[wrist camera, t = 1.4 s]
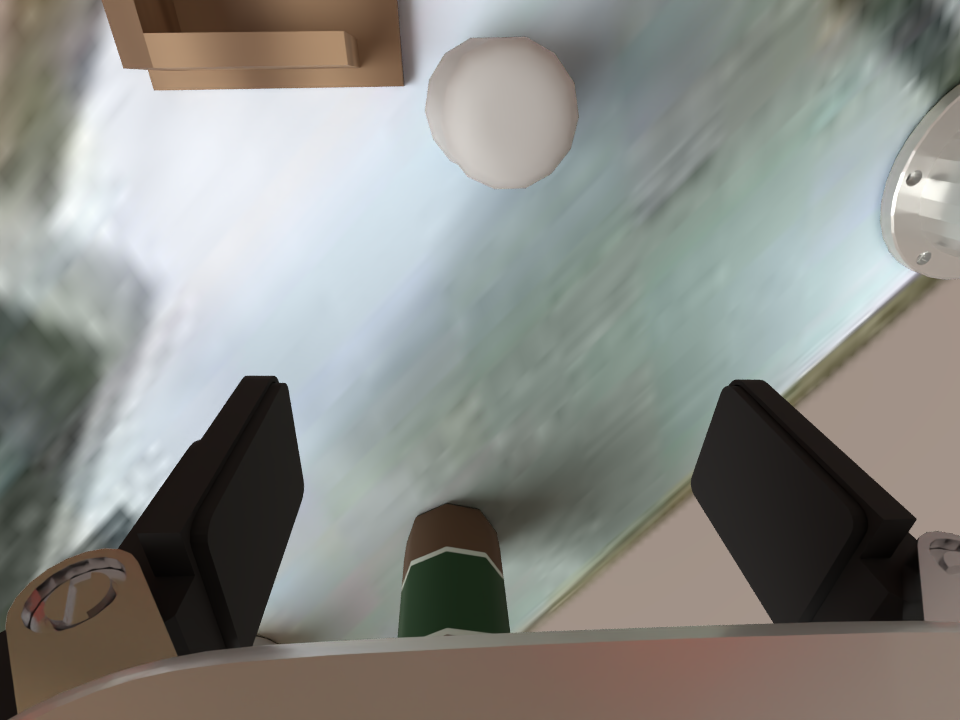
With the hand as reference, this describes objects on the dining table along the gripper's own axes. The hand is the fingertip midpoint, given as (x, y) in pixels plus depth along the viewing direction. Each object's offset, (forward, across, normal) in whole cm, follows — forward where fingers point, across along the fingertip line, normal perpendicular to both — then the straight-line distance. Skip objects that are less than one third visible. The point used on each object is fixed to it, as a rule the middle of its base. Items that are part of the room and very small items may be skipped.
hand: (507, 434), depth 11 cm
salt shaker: (+20, -1, -6) cm, 21 cm away
